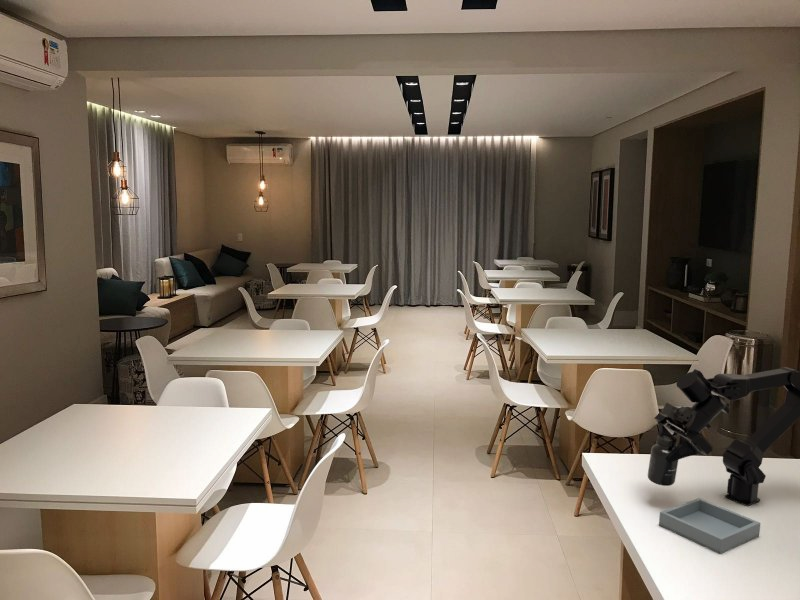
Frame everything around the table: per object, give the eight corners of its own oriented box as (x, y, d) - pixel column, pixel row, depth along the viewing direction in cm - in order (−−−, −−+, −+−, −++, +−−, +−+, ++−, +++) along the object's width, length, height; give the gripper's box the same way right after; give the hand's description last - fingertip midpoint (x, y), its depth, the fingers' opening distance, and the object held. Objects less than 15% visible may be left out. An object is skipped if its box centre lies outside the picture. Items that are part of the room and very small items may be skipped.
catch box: (759, 536, 161) (760, 522, 160) (720, 554, 152) (721, 539, 151) (697, 510, 174) (698, 497, 173) (658, 525, 165) (659, 511, 165)
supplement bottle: (673, 489, 172) (679, 446, 170) (645, 482, 175) (650, 439, 173) (676, 478, 178) (682, 436, 175) (649, 471, 181) (655, 430, 179)
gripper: (663, 383, 182) (622, 424, 182) (705, 403, 164) (660, 449, 164) (687, 410, 185) (648, 451, 185) (731, 433, 167) (687, 478, 166)
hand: (659, 456), depth 175 cm, fingers closed on supplement bottle, 7 cm apart
